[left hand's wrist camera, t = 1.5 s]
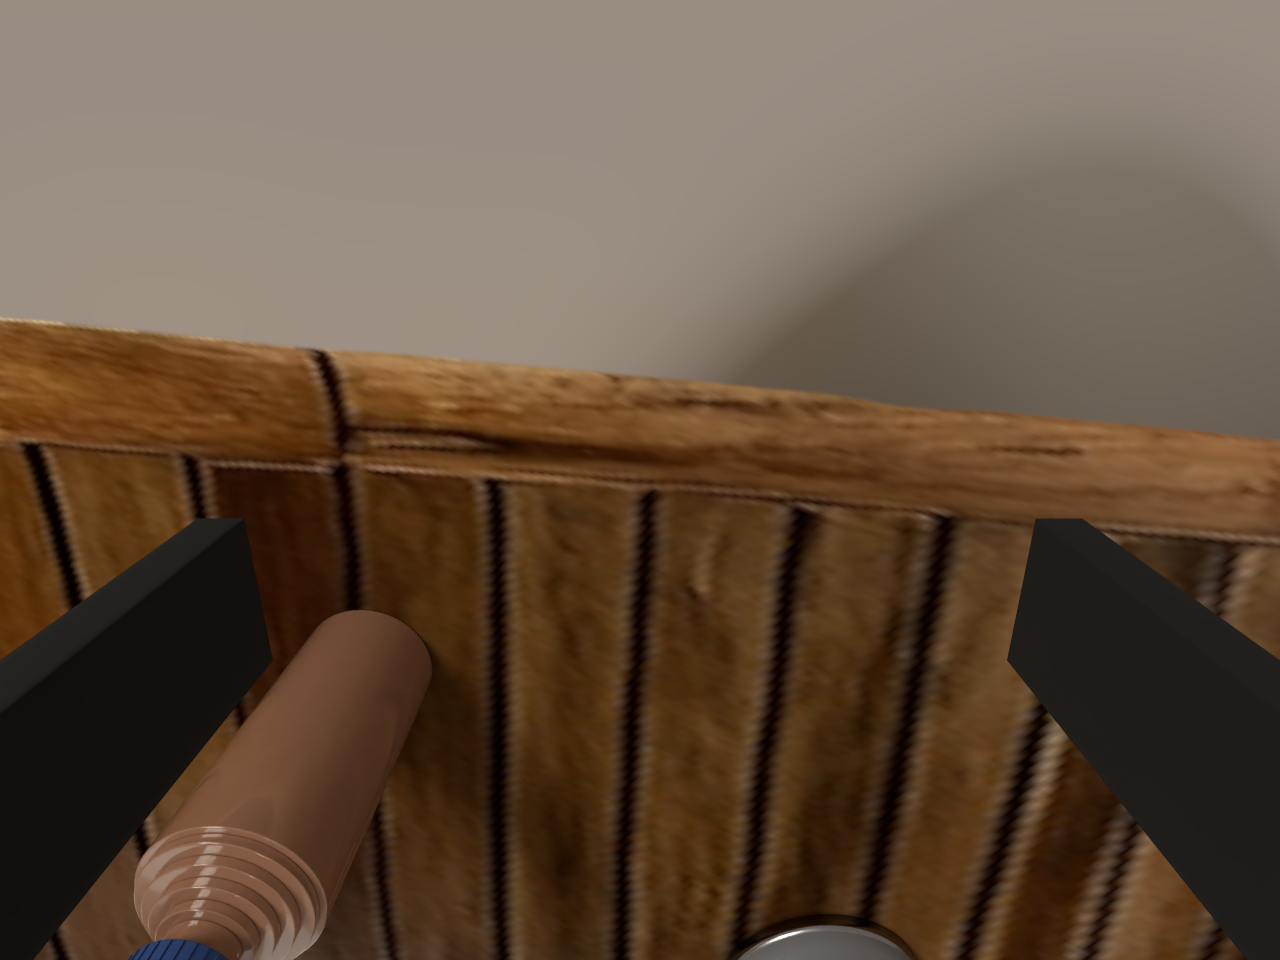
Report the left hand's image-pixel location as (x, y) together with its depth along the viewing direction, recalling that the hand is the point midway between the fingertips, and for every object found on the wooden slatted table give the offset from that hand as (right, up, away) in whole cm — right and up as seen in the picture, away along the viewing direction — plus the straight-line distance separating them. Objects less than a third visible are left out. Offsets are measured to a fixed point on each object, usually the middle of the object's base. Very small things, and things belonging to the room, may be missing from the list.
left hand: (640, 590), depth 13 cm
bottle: (-17, -10, +34) cm, 39 cm away
